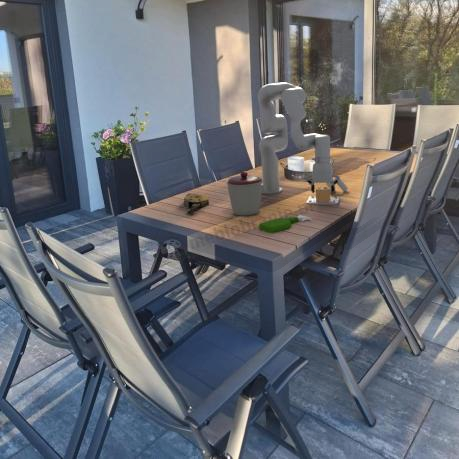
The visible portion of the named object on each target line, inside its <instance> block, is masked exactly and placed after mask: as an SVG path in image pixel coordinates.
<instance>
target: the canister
mask: <svg viewBox="0 0 459 459" xmlns="http://www.w3.org/2000/svg"><path fill="white" fill-rule="evenodd" d="M248 174H249V173H248V172H247V171H241V172H240V175H238V176H233V177H230V178H229V179H227V181H225V184H226V185H227V190H228V194H229V200H230V204H231V209H232V212H233V214H235V215H237V216H243V217H244V216H245V217H247V216H248V217H249V216H252V215H256V214H258V213H259V211H260V209H261V203H262V202H261V200H262V193H261V187H262V184H263V178H261V177H260V176H258V175H251V174H249V175H248Z"/></svg>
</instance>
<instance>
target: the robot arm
mask: <svg viewBox="0 0 459 459" xmlns="http://www.w3.org/2000/svg"><path fill="white" fill-rule="evenodd" d="M306 99H307V94H306V91H305V90H304V89H303V88H302V87H300V86H297V85H294V84H292V83H288V82H277V83H275V82H274V83H268V84H265V85H263V86H262V87H261V88H260V89H259V90H258V92H257V101H258V105H259V106H258V107H259V119H260V123H259V124H260V130H261V132H262V133H263V134H265V135H266V136H264V137H262V138H260V140H259V142H258V148H259V152H260V159H261V160H260V161H261V174H262V175H261V176H262V179H263V182H262V187H261V194H265V195H272V194H273V195H274V194H279V193H282V192H283V188H282V187H280V165H279V158H278V155H277V154H276V153H278V152H283V151H284V150H285V149H287V147H288V144H289V142H288V140H289V139H288V137H289V135H288V134H289V133H288V132H289V131H288V122H287V119H286V117H285V116H284V115H282V114H276V107H275V104H274V102H273V101H278V100H281V102H282V104H283V106H284V109H285V110H286V113H287V114H288V117H289V119H290V128H289V130H290V136H291V139H292V140H293V143H294V145H295V147H296V148H297V149H299V151H308V150H312V149H314V157H312V158H311V160H312V161H314V162H313V165H312V172H311V174H309V175H306V176H305V180H306V181H307V183H308V184H309V185H310V191H311V193H312V194H314V193H316V186H315V184H317V183H318V184H320V183H321V184H322V183H323V184H324V183H325V184H326V183H331V184H332V186H331V193H330V194H333V193H334V192H333V191H335V192H336V186H335V185H336V184H337V182H338V181H339V179H341V176H339V175H337V174H336V173H333V172H334V171H333V170H334V169H333V163H332V161H331V137H330V135H328V134H319V133H308V134H304V133H303V131H302V128H301V122H302V121H303V119H305V118H306V116H307V111H306V109H305V107H304V106H303V104H304V103H305V102H306ZM269 134H273V135H269ZM267 135H268V136H267ZM335 178H337V179H336V181H335V182H334V181H333V180H334V179H335ZM310 179H312V180H310Z"/></svg>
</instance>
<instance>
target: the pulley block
mask: <svg viewBox="0 0 459 459" xmlns="http://www.w3.org/2000/svg"><path fill="white" fill-rule="evenodd" d="M209 200H210V197H209V196H207V195H205V194H198V193H187V194H186V195H185V196H184V199H183V204H184V206H186V207H188V209H187V210H186V212H187V214H194V212H196V211H197V210H200V209H202V208H205V207H207V206H209V205H210V202H209Z"/></svg>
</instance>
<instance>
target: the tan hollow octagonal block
mask: <svg viewBox="0 0 459 459" xmlns="http://www.w3.org/2000/svg"><path fill="white" fill-rule="evenodd" d="M320 188H326V189H320ZM315 196H316V200H317V201H329V200H330V197H331V193H330V187H327V186H318V187H315Z"/></svg>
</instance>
